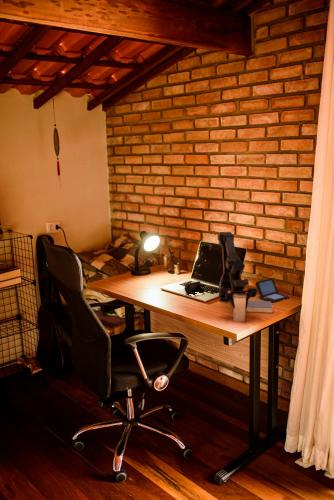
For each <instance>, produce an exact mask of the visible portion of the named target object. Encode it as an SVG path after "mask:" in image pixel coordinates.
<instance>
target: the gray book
mask: <svg viewBox="0 0 334 500" xmlns="http://www.w3.org/2000/svg"><path fill="white" fill-rule="evenodd" d="M272 304H273V303H271V301H265V300H249V299H248V305H247V308H245V313H258V314H259V313H260V314H261V313H263V314H273V312H274V307H273V305H272Z"/></svg>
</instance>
